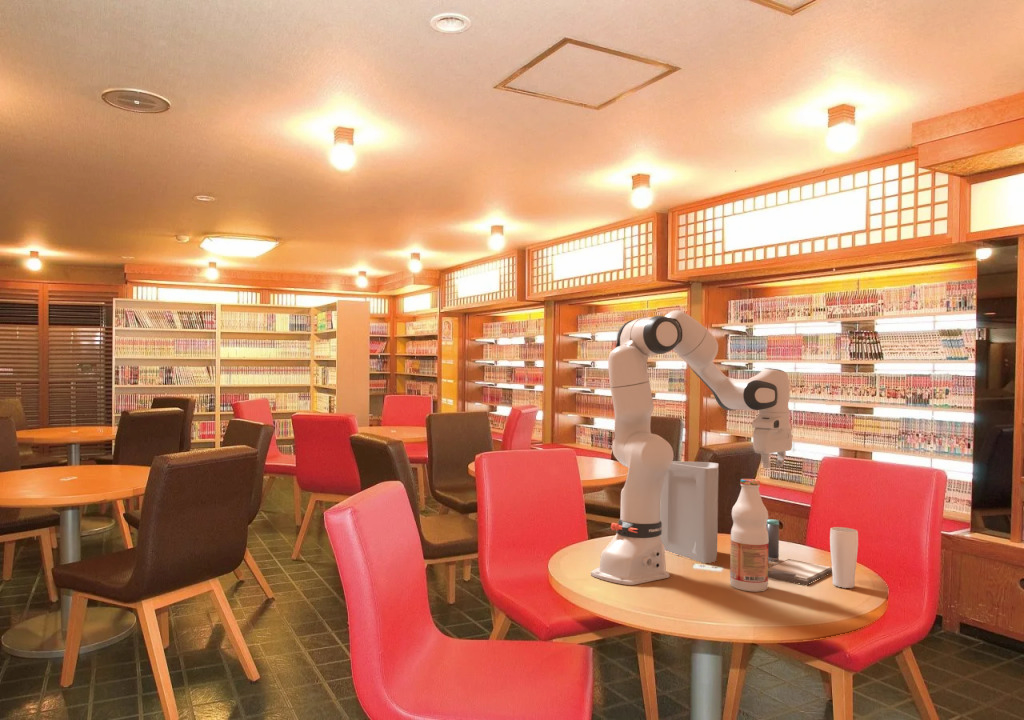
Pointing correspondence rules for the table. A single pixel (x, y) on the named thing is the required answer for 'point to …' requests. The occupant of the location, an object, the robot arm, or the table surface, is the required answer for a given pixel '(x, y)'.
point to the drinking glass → (843, 556)
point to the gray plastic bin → (690, 510)
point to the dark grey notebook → (798, 571)
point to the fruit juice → (749, 540)
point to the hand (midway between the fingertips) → (773, 467)
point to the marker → (773, 539)
